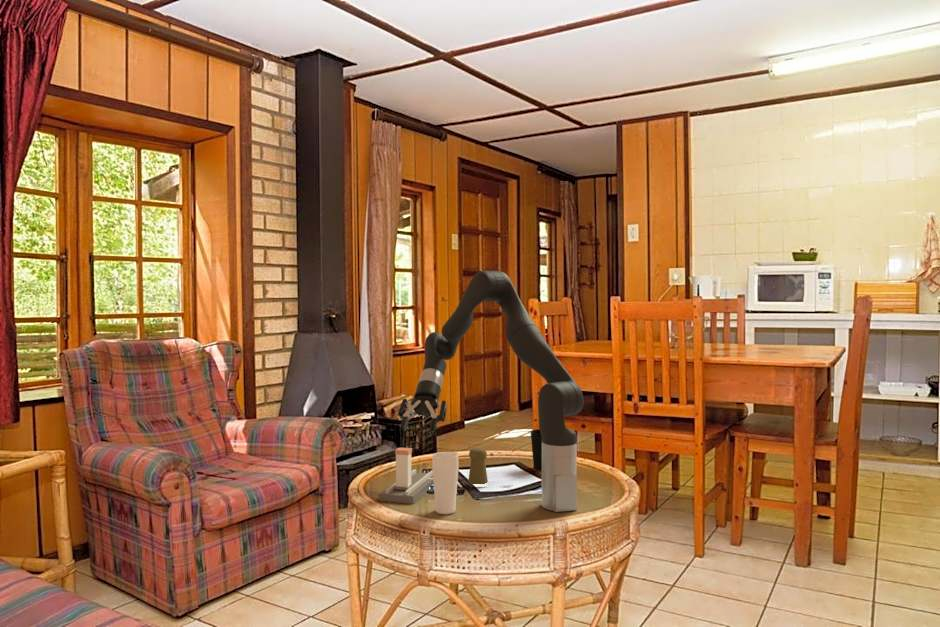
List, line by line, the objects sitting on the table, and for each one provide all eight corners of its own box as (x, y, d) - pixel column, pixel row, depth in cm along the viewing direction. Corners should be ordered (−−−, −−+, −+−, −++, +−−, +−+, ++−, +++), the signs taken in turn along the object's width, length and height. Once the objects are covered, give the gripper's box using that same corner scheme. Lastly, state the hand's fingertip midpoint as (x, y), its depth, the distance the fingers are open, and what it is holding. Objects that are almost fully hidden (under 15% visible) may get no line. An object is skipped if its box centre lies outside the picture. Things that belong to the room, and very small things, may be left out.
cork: (488, 488, 206) (488, 450, 205) (467, 488, 206) (467, 450, 205) (488, 482, 212) (488, 446, 211) (467, 482, 212) (468, 445, 212)
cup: (525, 468, 229) (525, 431, 228) (541, 464, 234) (541, 428, 233) (543, 472, 223) (543, 435, 222) (559, 468, 228) (559, 431, 227)
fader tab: (399, 485, 200) (399, 447, 200) (412, 486, 199) (412, 447, 199) (394, 489, 196) (394, 450, 196) (408, 490, 195) (407, 451, 195)
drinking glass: (430, 515, 181) (430, 457, 180) (435, 507, 188) (434, 451, 187) (456, 516, 180) (456, 458, 180) (460, 508, 187) (460, 452, 186)
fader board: (408, 478, 216) (408, 468, 216) (440, 480, 214) (440, 470, 214) (378, 500, 193) (378, 490, 193) (413, 503, 191) (413, 492, 191)
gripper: (404, 378, 218) (391, 422, 208) (449, 380, 215) (437, 424, 204) (410, 392, 224) (397, 436, 213) (454, 394, 220) (443, 439, 209)
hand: (417, 430), depth 208 cm, fingers open, 8 cm apart
